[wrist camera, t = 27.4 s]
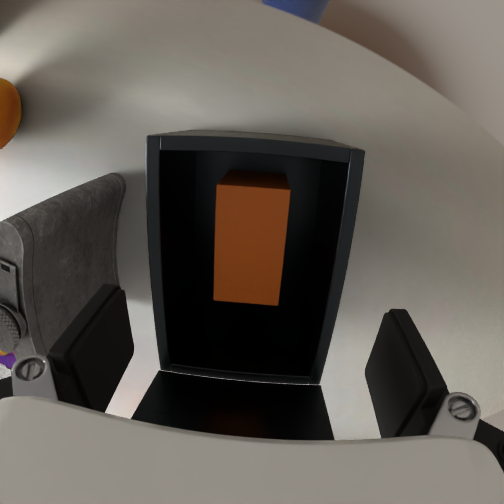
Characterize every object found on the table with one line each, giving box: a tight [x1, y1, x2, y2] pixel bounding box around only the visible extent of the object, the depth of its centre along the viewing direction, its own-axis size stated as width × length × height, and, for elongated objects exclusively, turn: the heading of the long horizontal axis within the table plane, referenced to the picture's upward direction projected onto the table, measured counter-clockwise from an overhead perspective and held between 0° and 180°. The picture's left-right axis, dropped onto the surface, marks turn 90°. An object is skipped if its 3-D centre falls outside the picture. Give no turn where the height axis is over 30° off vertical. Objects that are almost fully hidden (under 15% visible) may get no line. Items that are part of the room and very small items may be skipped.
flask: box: [0, 173, 126, 360], centre depth 24 cm, size 4×14×18 cm, turn 168°
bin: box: [146, 130, 365, 385], centre depth 26 cm, size 18×13×11 cm
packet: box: [214, 170, 291, 306], centre depth 26 cm, size 5×9×7 cm, turn 176°
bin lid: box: [131, 370, 334, 441], centre depth 15 cm, size 19×13×5 cm
